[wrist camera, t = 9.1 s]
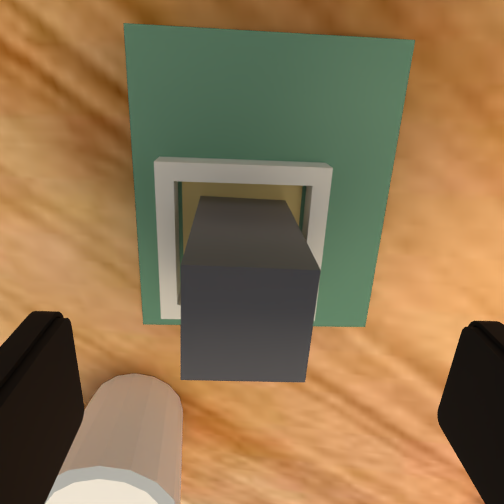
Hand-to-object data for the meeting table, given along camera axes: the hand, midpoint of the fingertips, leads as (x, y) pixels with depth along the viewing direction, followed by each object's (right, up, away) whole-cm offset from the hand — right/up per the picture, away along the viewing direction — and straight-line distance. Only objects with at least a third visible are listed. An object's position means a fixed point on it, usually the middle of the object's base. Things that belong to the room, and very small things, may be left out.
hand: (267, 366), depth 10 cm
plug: (-1, +3, +10) cm, 10 cm away
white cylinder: (-8, -7, +15) cm, 18 cm away
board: (0, +6, +10) cm, 12 cm away
